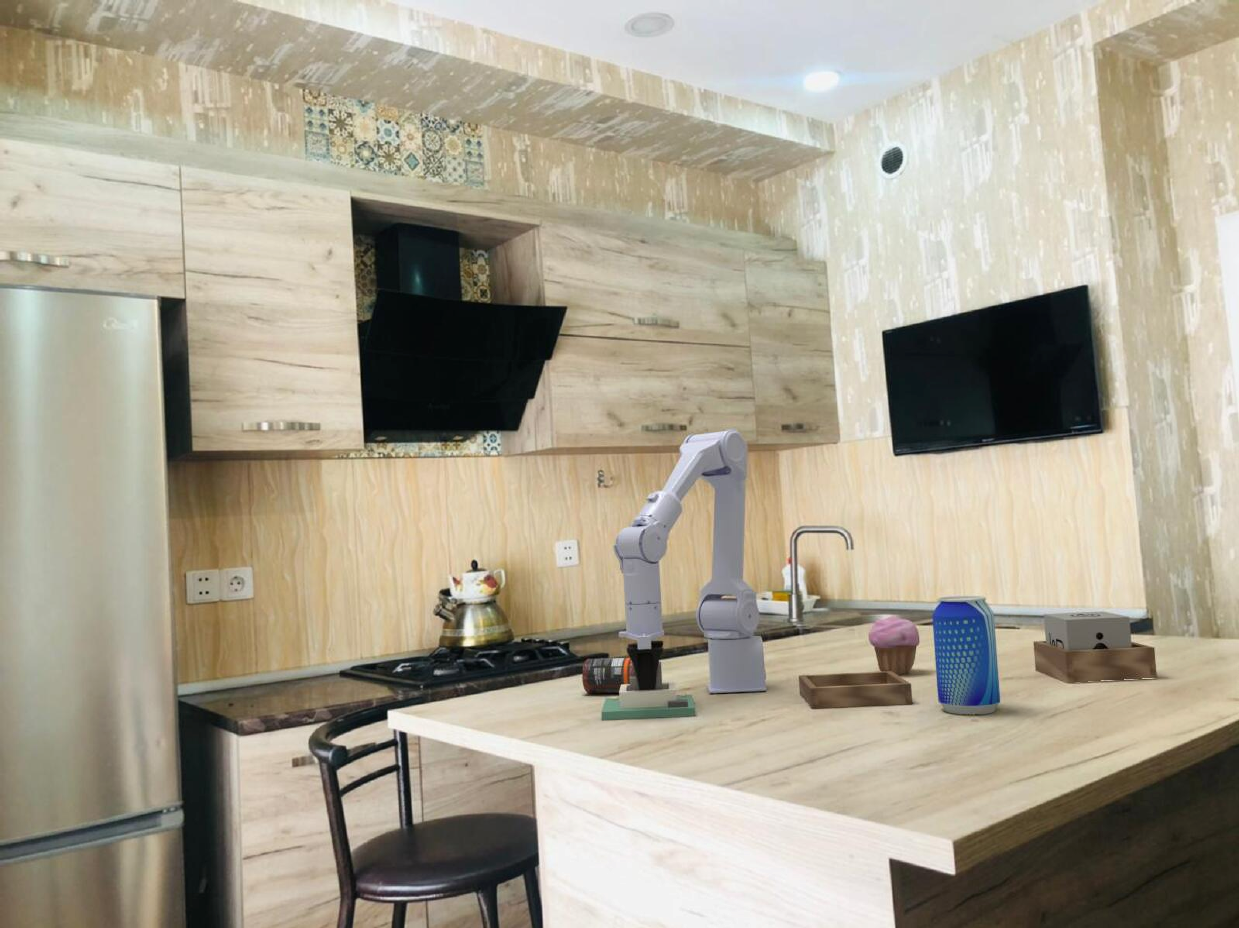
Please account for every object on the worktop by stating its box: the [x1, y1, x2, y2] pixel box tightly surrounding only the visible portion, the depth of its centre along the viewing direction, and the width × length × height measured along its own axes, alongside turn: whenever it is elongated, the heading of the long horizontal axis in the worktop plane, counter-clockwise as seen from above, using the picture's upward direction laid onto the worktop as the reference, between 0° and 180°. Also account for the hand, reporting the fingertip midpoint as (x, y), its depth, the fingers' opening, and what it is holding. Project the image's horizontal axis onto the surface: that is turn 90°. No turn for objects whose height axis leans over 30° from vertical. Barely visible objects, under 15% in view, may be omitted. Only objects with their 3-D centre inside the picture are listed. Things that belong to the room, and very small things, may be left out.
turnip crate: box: [798, 671, 913, 709], centre depth 159 cm, size 15×13×3 cm
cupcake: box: [868, 616, 920, 676], centre depth 182 cm, size 9×9×10 cm
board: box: [600, 693, 696, 721], centre depth 158 cm, size 14×12×2 cm
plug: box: [630, 661, 663, 691], centre depth 158 cm, size 5×4×6 cm
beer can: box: [931, 595, 1001, 716], centre depth 146 cm, size 8×8×16 cm
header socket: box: [618, 681, 677, 709], centre depth 158 cm, size 9×8×2 cm
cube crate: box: [1033, 640, 1158, 684], centre depth 169 cm, size 14×14×5 cm
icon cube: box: [1043, 611, 1132, 651], centre depth 169 cm, size 10×10×10 cm
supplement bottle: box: [581, 657, 636, 694], centre depth 176 cm, size 6×6×11 cm
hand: (647, 690), depth 158 cm, fingers closed on plug, 4 cm apart
